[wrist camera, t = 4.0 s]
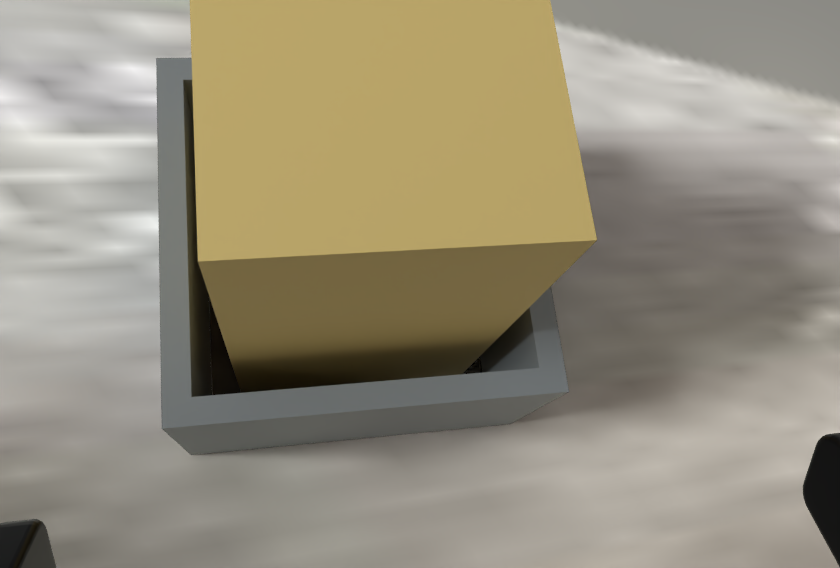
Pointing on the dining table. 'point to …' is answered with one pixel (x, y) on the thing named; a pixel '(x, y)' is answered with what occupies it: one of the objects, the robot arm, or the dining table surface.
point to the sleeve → (323, 405)
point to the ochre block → (379, 182)
